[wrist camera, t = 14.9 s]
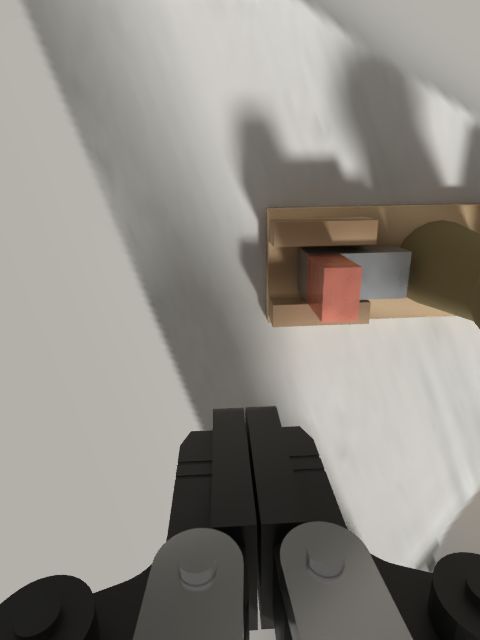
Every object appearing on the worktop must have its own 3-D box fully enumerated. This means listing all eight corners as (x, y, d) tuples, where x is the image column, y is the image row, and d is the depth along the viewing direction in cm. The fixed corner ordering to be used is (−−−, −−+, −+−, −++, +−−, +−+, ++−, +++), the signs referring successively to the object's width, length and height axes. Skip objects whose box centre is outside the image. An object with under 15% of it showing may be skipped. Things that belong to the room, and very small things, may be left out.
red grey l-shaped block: (387, 286, 29) (438, 318, 22) (297, 289, 29) (321, 322, 22) (392, 244, 28) (446, 264, 21) (298, 246, 28) (324, 268, 21)
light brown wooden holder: (483, 309, 32) (532, 333, 27) (266, 317, 31) (275, 343, 26) (503, 202, 29) (562, 207, 24) (266, 208, 28) (277, 214, 23)
